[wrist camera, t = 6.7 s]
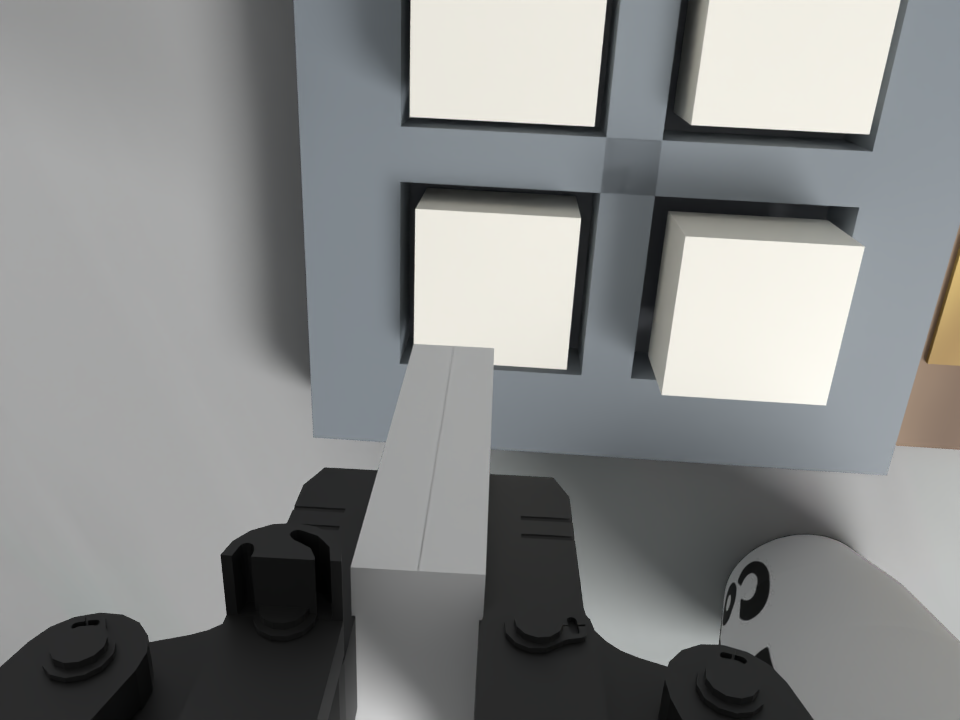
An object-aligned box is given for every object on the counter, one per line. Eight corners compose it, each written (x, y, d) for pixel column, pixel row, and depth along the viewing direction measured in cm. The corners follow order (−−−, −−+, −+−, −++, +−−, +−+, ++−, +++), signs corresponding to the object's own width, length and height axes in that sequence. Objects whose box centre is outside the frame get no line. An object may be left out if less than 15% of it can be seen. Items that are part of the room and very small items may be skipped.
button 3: (423, 104, 21) (409, 116, 18) (426, -82, 19) (411, -95, 17) (587, 112, 21) (594, 126, 18) (604, -74, 19) (615, -85, 16)
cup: (696, 491, 27) (782, 738, 18) (942, 501, 27) (1158, 758, 18) (670, 673, 30) (731, 961, 21) (889, 684, 30) (1048, 981, 21)
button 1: (673, 112, 22) (691, 125, 19) (697, -65, 20) (720, -74, 18) (831, 120, 21) (869, 134, 19) (869, -57, 20) (915, -66, 17)
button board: (332, 400, 26) (313, 437, 24) (310, -224, 20) (281, -254, 17) (854, 433, 26) (886, 475, 24) (1022, -196, 19) (1089, -224, 17)
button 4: (424, 325, 24) (413, 360, 22) (427, 187, 23) (415, 209, 20) (562, 333, 24) (566, 369, 22) (575, 195, 23) (581, 218, 20)
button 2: (648, 355, 23) (661, 394, 21) (668, 210, 21) (685, 236, 19) (795, 364, 23) (825, 405, 21) (827, 220, 21) (864, 246, 19)
